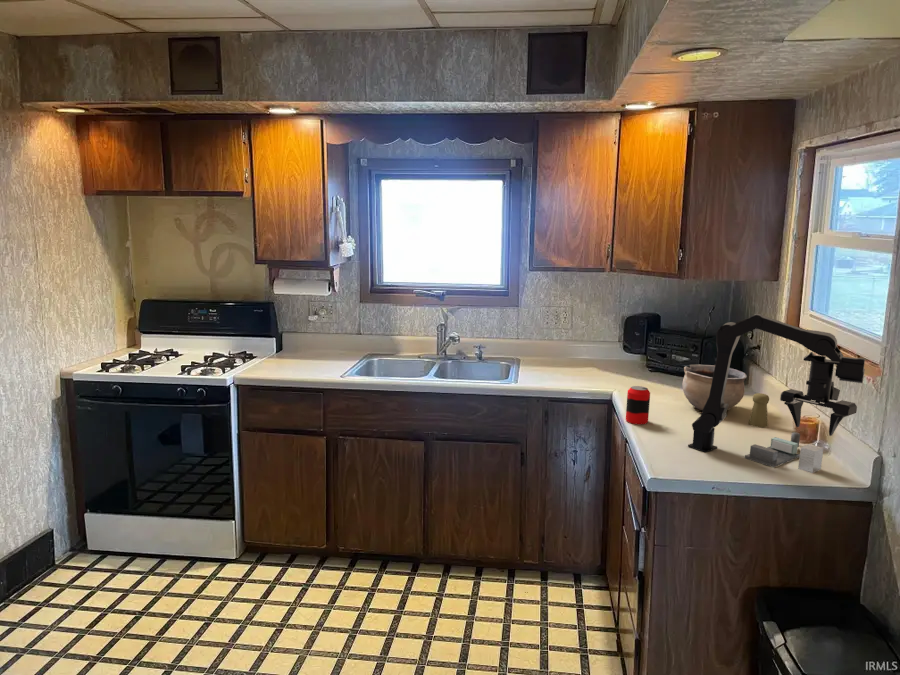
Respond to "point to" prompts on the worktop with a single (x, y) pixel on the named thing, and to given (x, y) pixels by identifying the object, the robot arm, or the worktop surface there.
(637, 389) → the soda can
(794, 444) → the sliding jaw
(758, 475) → the worktop surface
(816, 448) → the steel block
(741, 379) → the ceramic bowl
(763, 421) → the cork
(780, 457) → the base
